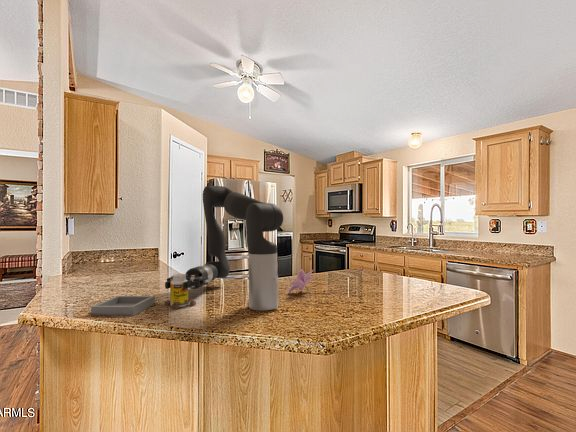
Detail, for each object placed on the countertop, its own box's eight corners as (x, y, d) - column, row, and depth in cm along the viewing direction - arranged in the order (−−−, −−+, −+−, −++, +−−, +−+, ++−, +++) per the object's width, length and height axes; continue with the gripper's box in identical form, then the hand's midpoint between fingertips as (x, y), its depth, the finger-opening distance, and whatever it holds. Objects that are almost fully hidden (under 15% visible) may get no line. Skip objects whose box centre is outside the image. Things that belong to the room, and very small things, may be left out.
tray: (154, 303, 104) (154, 296, 104) (133, 315, 91) (133, 306, 91) (117, 303, 104) (117, 296, 104) (91, 315, 91) (91, 306, 91)
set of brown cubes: (199, 301, 106) (199, 297, 106) (189, 309, 97) (189, 305, 97) (172, 301, 107) (172, 297, 107) (159, 309, 97) (159, 305, 97)
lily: (318, 293, 121) (307, 270, 124) (327, 287, 110) (315, 263, 113) (291, 305, 117) (281, 282, 120) (297, 300, 106) (286, 275, 109)
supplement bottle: (171, 308, 97) (171, 276, 97) (169, 304, 102) (169, 274, 102) (189, 306, 100) (189, 275, 100) (186, 302, 105) (186, 272, 105)
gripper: (181, 266, 116) (154, 273, 100) (217, 266, 114) (196, 274, 97) (181, 285, 116) (154, 296, 100) (217, 287, 114) (196, 298, 97)
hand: (175, 285), depth 99 cm, fingers closed on supplement bottle, 5 cm apart
